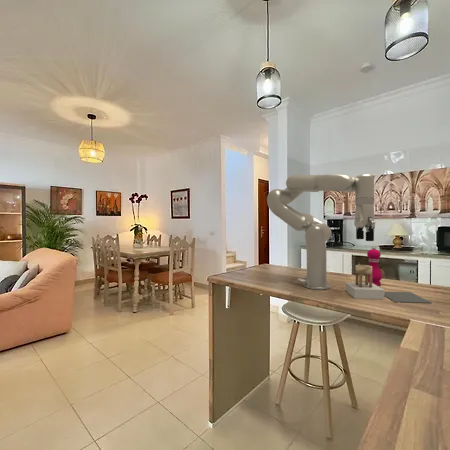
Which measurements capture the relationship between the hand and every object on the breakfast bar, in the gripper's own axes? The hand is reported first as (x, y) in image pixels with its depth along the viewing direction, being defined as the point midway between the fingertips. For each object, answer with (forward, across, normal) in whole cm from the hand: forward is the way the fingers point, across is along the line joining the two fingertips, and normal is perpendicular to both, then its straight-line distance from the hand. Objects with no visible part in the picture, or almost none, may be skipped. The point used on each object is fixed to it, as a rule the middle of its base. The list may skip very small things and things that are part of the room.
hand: (364, 240), depth 115 cm
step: (+25, 0, -1) cm, 25 cm away
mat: (+25, +4, +14) cm, 29 cm away
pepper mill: (+25, -17, +12) cm, 33 cm away
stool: (+21, 0, -1) cm, 21 cm away
